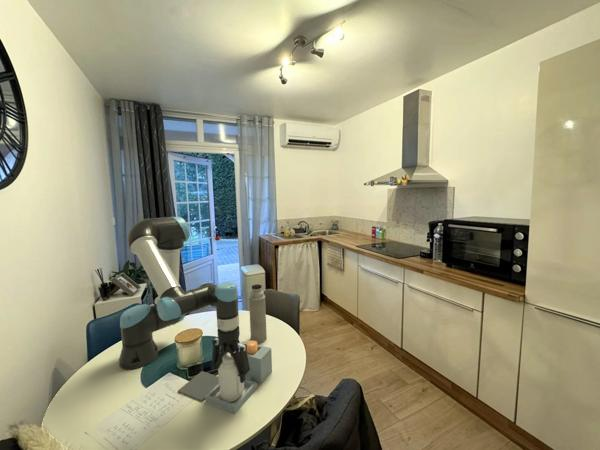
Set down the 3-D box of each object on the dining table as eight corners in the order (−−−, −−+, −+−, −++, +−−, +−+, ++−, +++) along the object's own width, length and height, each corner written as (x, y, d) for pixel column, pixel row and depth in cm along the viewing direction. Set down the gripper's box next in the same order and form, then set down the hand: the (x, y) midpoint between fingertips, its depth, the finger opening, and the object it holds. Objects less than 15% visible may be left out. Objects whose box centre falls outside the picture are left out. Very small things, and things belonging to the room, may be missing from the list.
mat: (177, 392, 98) (177, 390, 98) (201, 372, 108) (201, 371, 108) (202, 401, 93) (201, 400, 93) (224, 380, 103) (224, 378, 103)
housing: (204, 401, 93) (202, 375, 92) (244, 362, 114) (243, 341, 113) (236, 414, 87) (234, 386, 86) (272, 371, 108) (271, 348, 107)
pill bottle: (237, 404, 91) (235, 363, 90) (216, 401, 93) (213, 361, 91) (246, 388, 99) (244, 350, 97) (226, 385, 101) (224, 348, 99)
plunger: (243, 362, 106) (242, 345, 105) (250, 355, 110) (249, 339, 110) (253, 365, 104) (252, 348, 103) (260, 358, 108) (259, 342, 108)
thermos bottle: (258, 333, 139) (256, 282, 136) (269, 337, 135) (268, 284, 132) (247, 340, 132) (245, 286, 129) (259, 344, 128) (257, 289, 125)
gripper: (198, 326, 94) (202, 385, 96) (246, 337, 85) (249, 402, 88) (213, 317, 101) (216, 372, 103) (258, 327, 92) (261, 387, 95)
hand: (231, 386), depth 96 cm, fingers closed on pill bottle, 8 cm apart
